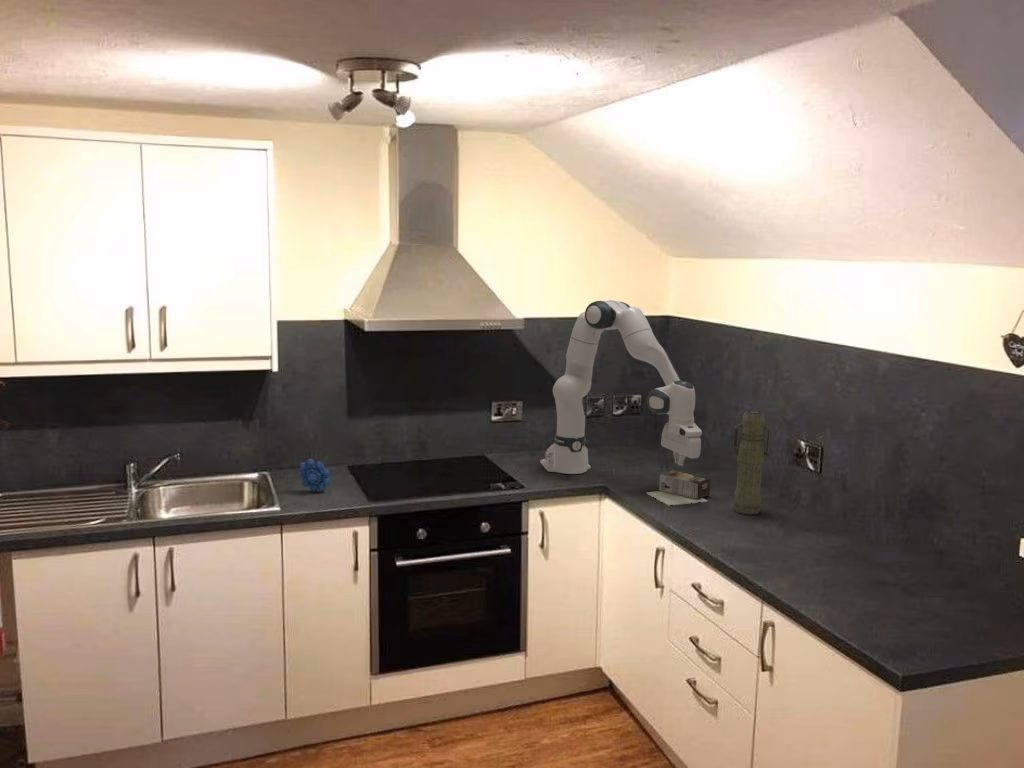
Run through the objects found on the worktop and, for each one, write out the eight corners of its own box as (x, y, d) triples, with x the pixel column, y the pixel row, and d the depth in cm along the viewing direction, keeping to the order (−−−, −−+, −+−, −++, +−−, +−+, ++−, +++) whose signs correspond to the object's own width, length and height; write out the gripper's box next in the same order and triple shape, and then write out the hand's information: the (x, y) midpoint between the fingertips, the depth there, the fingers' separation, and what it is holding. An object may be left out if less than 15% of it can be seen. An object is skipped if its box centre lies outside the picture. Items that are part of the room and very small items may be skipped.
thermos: (727, 506, 303) (734, 408, 297) (762, 508, 302) (769, 409, 296) (730, 513, 294) (737, 413, 289) (765, 516, 293) (774, 415, 287)
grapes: (294, 494, 302) (294, 461, 300) (299, 489, 309) (299, 456, 307) (327, 495, 302) (327, 462, 300) (332, 490, 309) (332, 457, 307)
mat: (646, 493, 315) (646, 492, 315) (683, 490, 321) (684, 488, 321) (668, 505, 301) (668, 504, 301) (707, 501, 307) (707, 500, 307)
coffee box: (671, 469, 323) (711, 477, 313) (670, 486, 324) (710, 494, 314) (659, 474, 316) (699, 483, 306) (658, 491, 317) (698, 500, 307)
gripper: (657, 421, 315) (655, 458, 317) (689, 433, 296) (687, 472, 299) (672, 420, 317) (670, 457, 320) (704, 432, 299) (702, 471, 301)
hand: (678, 464), depth 309 cm, fingers closed
